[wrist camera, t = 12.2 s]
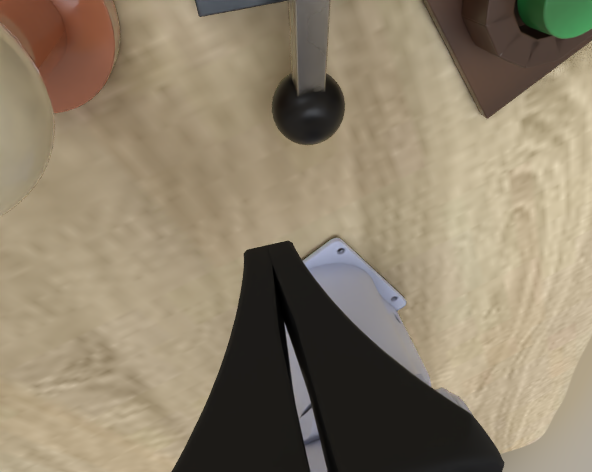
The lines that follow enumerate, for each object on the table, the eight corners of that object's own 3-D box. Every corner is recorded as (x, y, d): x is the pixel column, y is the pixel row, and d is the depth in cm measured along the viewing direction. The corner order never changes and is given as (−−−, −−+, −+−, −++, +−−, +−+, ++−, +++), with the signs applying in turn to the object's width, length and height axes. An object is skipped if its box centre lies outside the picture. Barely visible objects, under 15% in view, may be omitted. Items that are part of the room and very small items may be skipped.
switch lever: (331, 98, 19) (349, 151, 18) (268, 111, 19) (282, 165, 18) (362, -290, 8) (412, -223, 7) (219, -269, 8) (247, -198, 7)
